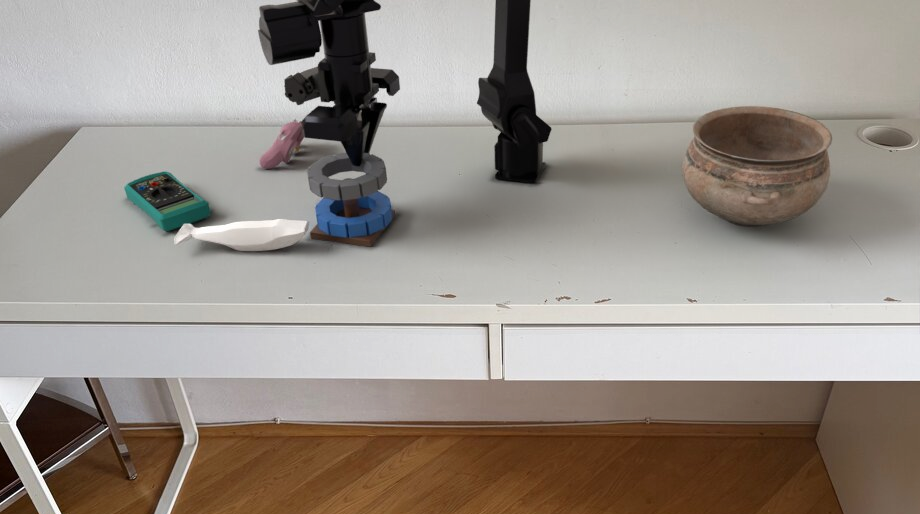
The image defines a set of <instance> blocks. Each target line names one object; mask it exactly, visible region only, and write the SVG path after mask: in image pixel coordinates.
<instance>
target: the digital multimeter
mask: <svg viewBox="0 0 920 514" xmlns="http://www.w3.org/2000/svg"><path fill="white" fill-rule="evenodd" d="M123 188H124V191H125V195H126V199H128V200H129V201H130V202H132V203H133V204H134V205H136V206H137V207H138V208H140V209H141V210H142V211H143V212H144V213H146V214H147V215H148V216H149V217H150V218H151V219H152V220H153V222H154V223H156V225H157V226H158V227H159V228H160V229H161V230H162V231H164V232H171V231H175V230H176V229H181V227H182V226H183V224H191V225H193V224H194V223H198V222H199V221H202V220H205V219H206V218H209V217H210V216H211V214H212V212H211V207H210V203H209V202H208V201H207V200H206V199H204V198H202V197H201V196H199V195H198V194H196V193H195V192H193V191H192V190H191V189H190V188H188V187H187V186H186V185H184V184H183V183H182V182H181V181H180V180H179V179H177V177H175V176H174V174H172V173H171V172H169V171H160V172H156V173H152V174H148V175H143V176H142V177H139V178H137V179H134V180H132V181H130V182H127V184H126V185H125V186H124V187H123Z"/></svg>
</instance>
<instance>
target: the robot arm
mask: <svg viewBox="0 0 920 514" xmlns="http://www.w3.org/2000/svg"><path fill="white" fill-rule="evenodd" d="M531 1H532V0H495V7H494V34H493V35H494V36H493V37H494V39H493V65H492V68H491V70H490V72H489V73H488V75H487V77H479V78H478V82H477V84H478V98H477V101H476V104H477V105H478V106H479V107H480V110H481V113H482V115H483V116H484V117H485V119H487V120H488V121H489V122H491V124H492V127H493V128H494V130H497V131H499V133H498V135H497V141H496V143H494V146H493V147H494V149H493V151H494V169H495V171H496V173H495V174H494V179H496V180H504V181H510V182H511V181H512V182H519V183H529V184H536V183H537V182H538V180H539V178H540V176H541V175H542V174H543V172H544V170H545V169H546V167H547V166H546V165H547V163H546V162H544V143H546V142H548V141H549V139H550V135H551V132H552V126H550V125H549V124H548V123H547V122H546V121H544V120H543V118H540V116H539V115H537V106H536V94H535V90H534V87H533V85H532V81H531V79H530V75H529V72H528V56H529V55H528V53H529V38H530V37H529V36H530V20H531V19H530V18H531V3H532V2H531ZM381 8H382V5H381V4H380V3H379V2H377V1H376V0H296V1H293V2H287V3H281V4H280V3H279V4H264V5H260V6H259V7H258V10H259V19H258V29H257V34H258V38H259V42H260V46H261V50H262V53H263V55H264V58H265V60H266V63H268V65H269V66H273V65H274V66H275V65H279V64H284V63H285V64H286V63H289V62H295V61H300V60H305V59H310V58H315V56H316V53H320V51H321V47H323V54H324V58H322V59H321V60H320V61H319V62H318V64H317V66H315V67H312V68H309V69H306V70H303V71H301V72H299V71H298V72H296V73H294V74H290V75H288V76H287V77H286V78H284V85H283V87H284V96H285V97H286V98H287V99H288V100H289V101H290V102H292V103H295V104H296V106H301V105H304V104H305V102H309V101H313V100H314V99H320V103H330V102H333V104H334V105H333V106H326V105H318V106H316V107H315V108H314V109H312V110H311V111H310V112H309V113H308V114H306V115H305V116H304V118H303V119H302V120H300V121H301V125H302V131H303V136H304V139H313V140H323V141H331V142H340V143H341V145H342V147H343V149H344V151H345V152H346V153H347V155H348V157H349V159H350V161H351V163H352V165H353V166H360V165H361V162H362V158H363V154H364V153H370V154H371V149H372V147H373V144H374V140H375V139H376V138H375V137H376V135H377V132H378V129H379V126H380V123H381V120H382V118H383V116H384V114H385V110H386V109H387V107H388V104H387V102H378V98H377V97H375V96H376V95H377V94H378V92H380V89H381V90H382V89H383V90H384V89H385V90H386V91H385V92H386V94H387V95H388V96H389V97H394V96H395V95H396V94H397V93H399V91H400V90H401V84H400V76H399V75H398V74H397V73H396V72H395V71H394V69H390V68H377V67H371V65H372V64H374V63H375V62H376V61H377V57H376V52H371V51H370V47H369V38H368V27H367V20H366V19H367V18H366V13H372V12H377V11H380V10H381Z"/></svg>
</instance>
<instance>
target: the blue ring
mask: <svg viewBox="0 0 920 514" xmlns="http://www.w3.org/2000/svg"><path fill="white" fill-rule="evenodd" d="M358 205H359V207H361V208H368V209H371V210H373V211H372V212H370V213H368V214H366V215H363V216H360V217H352V218H346V217H339V216H336V215H335V214H336V213H337V212H340V211H342V210H344V203H343V200H342V199H341V200H332V199H324V198H323V197H322V199H320V200H319V202H318V203H316V204H315V207H314V210H315V211H314V212H315V218H316V223H317V224H318V227H319V229H320V230H322V231H323V232H325V233H327V234H328V235H330V234H331V236H338V237H345V238H347V237H348V236H349V237H350V238H352V237H359V236H367V233H368V234H369V235H370V234H373V233H375V232H377V231H379V230H382V229H384V227H386V226H387V225H388V226H389V225H390V224H391V222H392V221H393V220H392V218H393V216H392V209H393V208H392V207H393V206H392V203H391V199H390V197H389V196H388V195H386V194H384V193H383V192H381V191H380V190H378V192H375V193H373V194H371V195H368V196H366V197H362V196H361V198H358ZM393 219H394V218H393ZM391 220H392V221H391ZM390 221H391V222H390ZM317 224H316V225H317ZM388 226H387V227H388ZM387 227H386V228H387ZM384 230H385V229H384Z"/></svg>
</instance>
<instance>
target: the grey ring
mask: <svg viewBox="0 0 920 514" xmlns="http://www.w3.org/2000/svg"><path fill="white" fill-rule="evenodd" d="M347 172H358V173H363V175H360V176H357V177H355V178H351V179H347V178H346V179H347V180H344V179H337V178H330V177H332V176H334V175H337V174H341V173H347ZM306 173H307V180H308V187H309V191H310V192H311V193H312V194H314V195H316V196H317V197H319V198H322V199H323V198H324V199H332V200H341V199H342V200H350V199H358V198H361V196H362V197H366V196H368V195H371V194H373V193H375V192H378V191H381V190H382V189H383V187H384V186H385V185H386V184H387V182H388V175H387V167H386V163H385V161H384V160H383V159H382V158H381V157H379V156H377V155H375V154H373V153H371V152H370V153H364V154H363V158H362V162H361V165H360V166H353V165H352V163H351V161H350V159H349V157H348V155H347V153H346V151H345V152H339V153H337V152H336V153H334V155H333V154H328V155H327V156H324V157H321V158H318V159H317V160H315V161H313V162H312V163H311V165H310V166H309V167H308V168H307V169H306Z"/></svg>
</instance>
